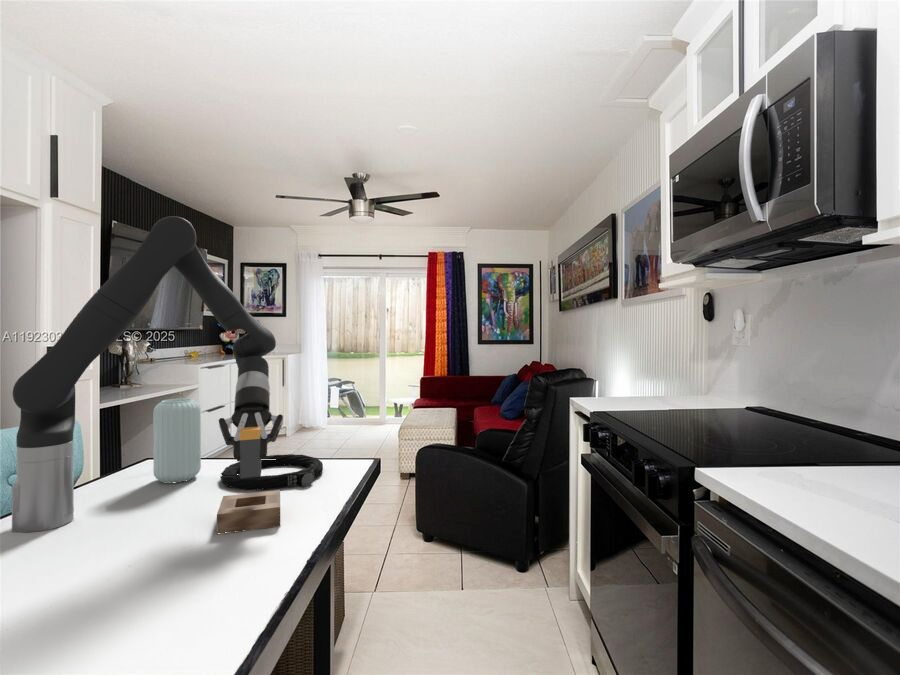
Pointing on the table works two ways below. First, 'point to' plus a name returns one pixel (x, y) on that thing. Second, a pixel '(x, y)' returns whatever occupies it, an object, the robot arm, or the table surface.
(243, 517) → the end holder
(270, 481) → the cable lock
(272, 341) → the robot arm
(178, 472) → the vase
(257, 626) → the table surface
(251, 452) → the connector plug
